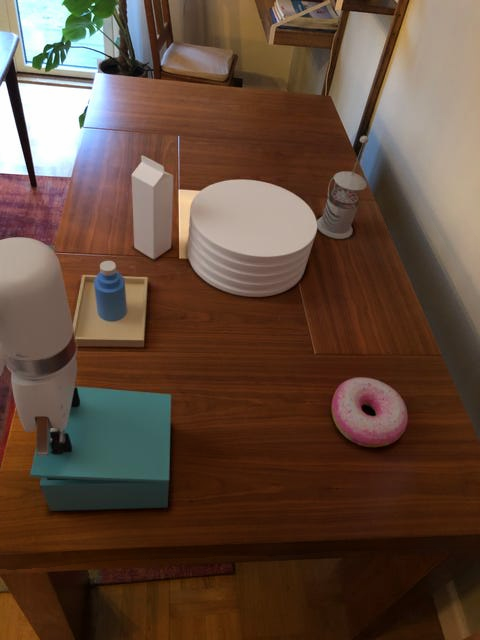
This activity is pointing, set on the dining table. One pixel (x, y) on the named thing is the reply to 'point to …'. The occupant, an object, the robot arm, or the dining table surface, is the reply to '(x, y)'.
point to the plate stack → (250, 237)
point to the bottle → (110, 292)
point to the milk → (152, 208)
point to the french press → (342, 203)
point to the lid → (113, 438)
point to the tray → (111, 332)
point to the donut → (363, 426)
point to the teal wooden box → (103, 494)
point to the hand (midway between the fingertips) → (64, 426)
